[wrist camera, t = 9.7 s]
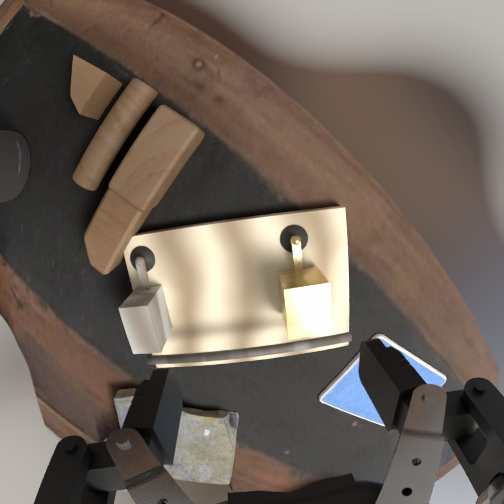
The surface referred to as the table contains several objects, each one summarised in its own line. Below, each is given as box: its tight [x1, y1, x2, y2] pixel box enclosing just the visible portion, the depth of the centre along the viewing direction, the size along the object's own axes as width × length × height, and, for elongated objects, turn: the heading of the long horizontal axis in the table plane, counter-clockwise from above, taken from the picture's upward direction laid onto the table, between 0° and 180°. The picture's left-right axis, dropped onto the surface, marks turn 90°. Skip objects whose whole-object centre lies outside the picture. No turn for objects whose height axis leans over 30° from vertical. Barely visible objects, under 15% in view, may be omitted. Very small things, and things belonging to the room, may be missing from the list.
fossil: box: [114, 388, 238, 484], centre depth 37 cm, size 20×5×17 cm
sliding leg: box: [278, 235, 331, 340], centre depth 28 cm, size 4×8×5 cm, turn 7°
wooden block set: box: [70, 55, 205, 275], centre depth 26 cm, size 17×6×18 cm
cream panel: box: [118, 206, 352, 368], centre depth 29 cm, size 23×16×7 cm
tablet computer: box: [319, 334, 446, 426], centre depth 37 cm, size 19×13×1 cm, turn 56°
